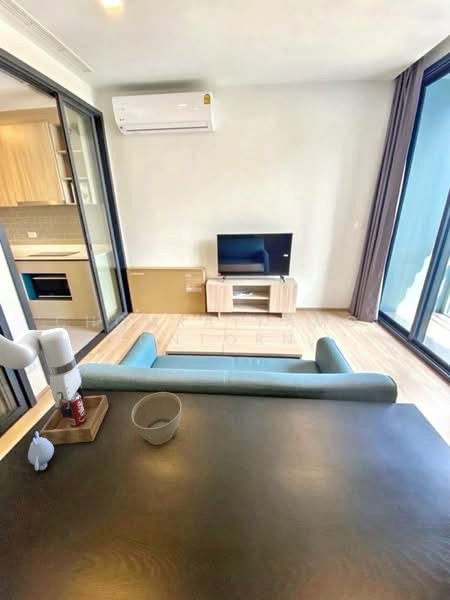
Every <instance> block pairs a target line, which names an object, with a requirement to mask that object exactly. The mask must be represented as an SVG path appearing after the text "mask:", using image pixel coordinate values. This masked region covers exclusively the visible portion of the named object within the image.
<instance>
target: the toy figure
mask: <svg viewBox="0 0 450 600" xmlns="http://www.w3.org/2000/svg"><path fill="white" fill-rule="evenodd" d="M34 435H35V437H33V438H32V442H30V444H29V448H28V452H27V461H28V462H29V463H30V464H31V465H33V466H34V470H35V471H36V472H37V471H39V470H40V471H44V470H46V468H47V467H48V462H49V461H50V460H51V459H52V457H53V456H54V453H55V447H54V444H53V445H52V444H51V442H49V441H48V440H47V439H46V438H42V437H41V436H40V432H39V431H35V433H34Z"/></svg>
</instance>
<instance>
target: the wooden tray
mask: <svg viewBox="0 0 450 600" xmlns="http://www.w3.org/2000/svg"><path fill="white" fill-rule="evenodd" d="M81 400H82V404H83V407H84V411H85V415H86V419H87V420H86V422H85V424H84V425H83V426H81V427H79V428H72V427H71V426H70V423H69V420H68V417H65V418H64V417H63V415H62V412H61V410H58V409H56V408H55V410H54V412H53V413H52V415H50V417H49V419H48V420H47V422H46V423H45V424H44V425H43V427H42V428H41V430H40V431H39V436H40V437H42V438H46V439H47V440H48V441H49V442H51V444H52V445H53V446H54V445H62V444H74V443H84V442H93V441H94V439H95V437H96V435H97V434H98V431H99V429H100V427H101V424H102V422H103V420H104V418H105V415H106V413H107V411H108V409H109V402H108V398H107V395H106V394H103V395H90V396H89V395H88V396H84V399H81ZM63 402H64V401H63ZM63 405H64V403H63Z"/></svg>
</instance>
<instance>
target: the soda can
mask: <svg viewBox="0 0 450 600" xmlns="http://www.w3.org/2000/svg"><path fill="white" fill-rule="evenodd" d="M63 399H65V398H64V397H63ZM63 403H64V405H66V401H64V402H63ZM70 406H71V407H72V411H73V414H74V416H73V417H68V420H69V423H70V426H71V427H72V428H79V427H81V426H83V425H84V424H85V422H86V420H87V419H86V415H85V411H84V407H83V404H82V400H81V396H80V395H79V393H77V392H75V394H74V395H73V397H72V398H71V399H70Z"/></svg>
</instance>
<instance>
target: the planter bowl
mask: <svg viewBox="0 0 450 600" xmlns="http://www.w3.org/2000/svg"><path fill="white" fill-rule="evenodd" d="M130 416H131V421H132V424H133V426H134V428H135V430H136V432H137V434H138V435H139V436H140V437H141V438H142V439H144V440H145V441H147V442H148V443H149V444H152V445H154V446H155V445H157V446H158V445H162V444H163V445H164V444H165V443H167V442H168V441H170V440H171V438H173V436H174V434H175V432H176V431H177V429H178V427H179V424H180V421H181V417H182V401H181V399H180V398H179V397H178V396H177V395H176V394H174V393H171V392H167V391H159V392H155V393H151V394H148V395H145V396H144V397H143V398H141V399H140V400H139V401H137V403H136V404H135V405H134V406H133V407H132V411H131V415H130Z"/></svg>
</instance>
